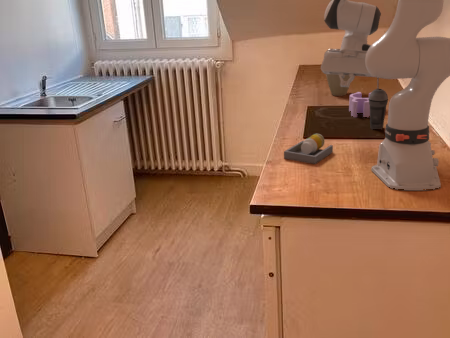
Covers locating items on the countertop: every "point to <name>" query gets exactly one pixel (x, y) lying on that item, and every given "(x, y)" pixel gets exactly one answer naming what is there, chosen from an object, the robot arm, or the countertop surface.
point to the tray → (298, 155)
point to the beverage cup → (377, 107)
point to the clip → (359, 105)
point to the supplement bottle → (312, 144)
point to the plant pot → (337, 84)
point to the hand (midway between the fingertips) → (344, 86)
